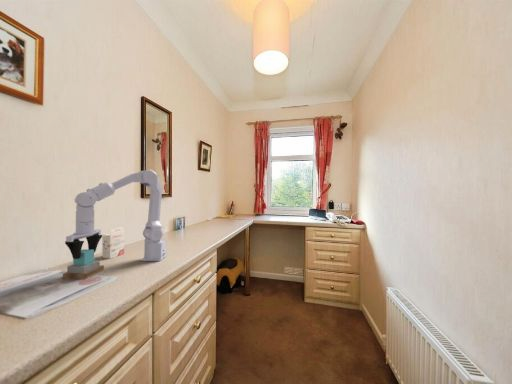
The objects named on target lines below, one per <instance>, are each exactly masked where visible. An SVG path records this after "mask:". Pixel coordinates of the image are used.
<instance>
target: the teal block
mask: <svg viewBox="0 0 512 384" xmlns="http://www.w3.org/2000/svg"><path fill="white" fill-rule="evenodd" d="M72 260H73V261H72V263H73V264H72V265H74V266H85V265H87V264H90V263H92V262H94V261H95V253H94V250H88V248H87V249H81V256H80V258H79V259H73V258H72Z"/></svg>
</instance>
